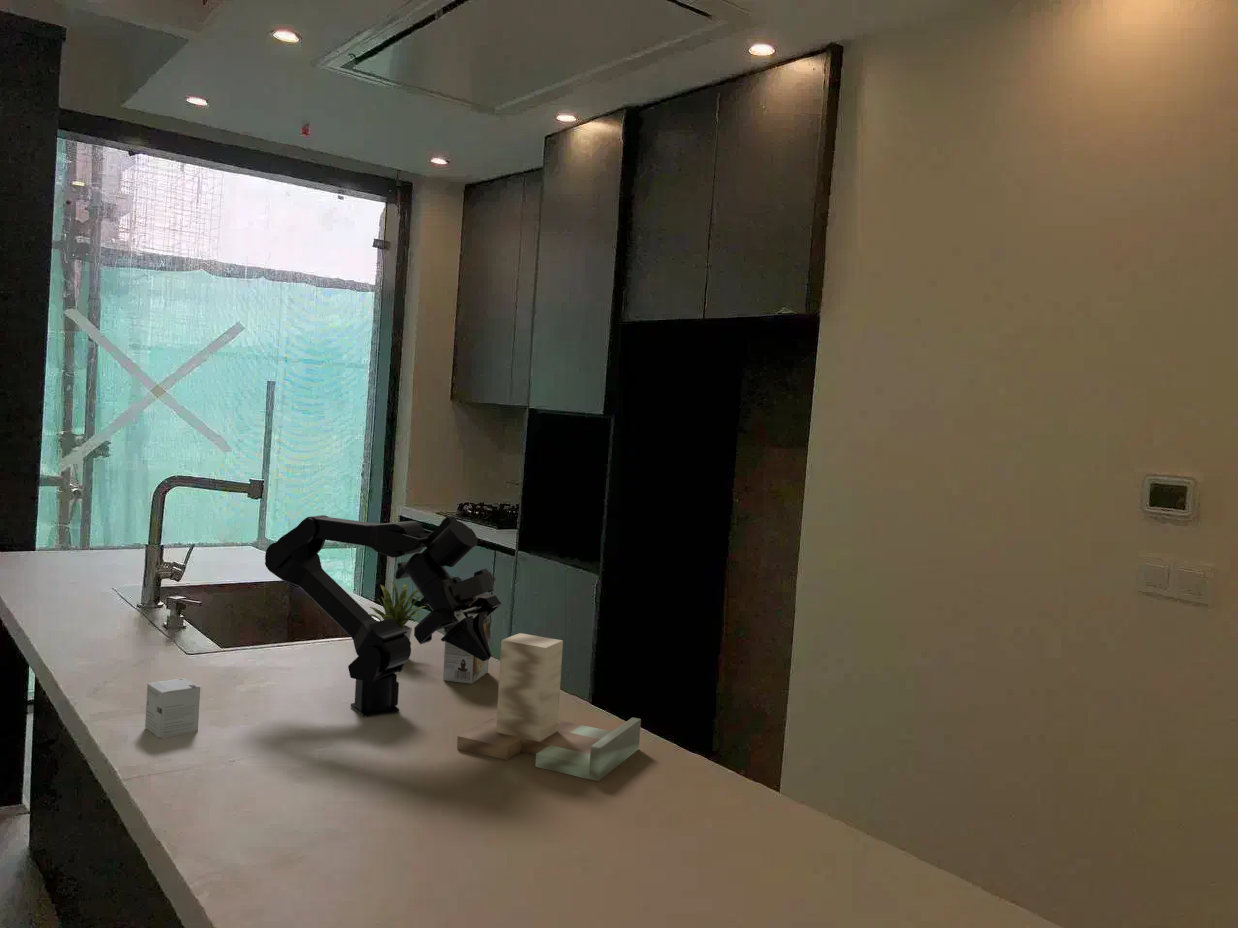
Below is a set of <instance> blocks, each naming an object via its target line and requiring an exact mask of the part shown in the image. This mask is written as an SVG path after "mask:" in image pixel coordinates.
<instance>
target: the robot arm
mask: <svg viewBox="0 0 1238 928" xmlns="http://www.w3.org/2000/svg"><path fill="white" fill-rule="evenodd" d="M326 541H329V542H335V543H336V542H338V543H345V544H352V545H357V546H364V547H365V546H366V547H367V548H371V549H372V550H373V551H375V552H376V553H378V554H381V555H384V556H387V557H389V558H392V559H393V558H399V557H400V558H401V557H406V556H411V557H409V558H408V559H407V561H402V562H398V563H397V564H396V565H397V567H396V568H397V569H396V572H395V579H396V580H402V579H407V578H409V579H410V581H411V583H413V585H414V586H415V588H416V590H417V589H418V591H419V592H418V593H419V594H420V593H421V594H420V596H421V595H422V597H421V598H420V599H419V603H420V604H421V607H423V606H429V608H430V610H431V611H430V612H429V613H428V614H427V615H426V616H425V617H424V618H423V619H422V620H421V621H420V622H419V623H417V624H416V625H415V627H414V629H413V636H414V638H415V639H416V641H417V642H418V643H419V645H423V644H426V643H430V641H432V638H433V634H435V632H436V631H438V630H441V629H444V630H443V632H444V634H446V635H444V636H442V637H441V639H440V641H441V642H443V643H445V641H446V642H448V643H450V644H452V645H454V646H456V647H458V648H460V649H462V650H464V651H466V652H467V653H469V654H471V655H473V656H475V657H476V658H478V659H480V660H482V661H486V660H489V661H490V659H491V658H492V654H491V650H490V645H489V646H488V642H487V639H486V636H485V632H484V627H483V623H484V620H485V619H487V618H488V617H489V616H490V615H491V616H492V614H493V613H494V612H495V611H497V610H498V609H499V608H500V607H501V606H502V602H501V601H500V600H499V598H498V596H496V595H494V594H489V595H486V596H482V597H479V598H478V599H477V598H476V597H475V596H477V595H480V594H487V593H491V592H493V591H494V590H495V589H494V585H495V581H496V577H495V576H493V574H492V572H490V571H489V570H488V569H487V568H483V569H480V570H476V571H474V572H473V576H471V577H469V578H466V579H463V580H462V578H460V577H459V576H454V577H452V576H451V574H450V573H449V571H448V570H447V569H446V567H448V568H453V567H455V566H456V565H458V563H460V561H462V560H463V559H464V558H465V557H466V556H467V555H468V554H469V553H470V552H471V551H472V550H473V549H474V548H475V547H476V546H477V545H478V537H477V535H476V534H475V532H474V530H473V529H472V528H471V527H469V526H467V525H466V524H465V523H464V522H462V521H460V520H458V519H457V518H456V516H454V515H450V516H446V517H445V518H443V519H442V521H441V523H440V524H438V526H437V527H436V528H435V529H434V530H433V531H432V530H429V529H425V528H424V527H423V525H422V524H421V523H420V522H419V521H416V520H408V521H395V522H387V523H384V522H383V523H377V522H376V523H375V522H368V521H361V520H352V519H345V518H339V517H331V516H328V515H325V514H323V515H313V516H307V517H305V518H304V519H303V520H301V521H300V522H299V524H298V525H297V526H295V527H294V528H293V529H291V530H289V531H288V532H286V533H285V534H284V535H282V536H281V537H280V538H279V539H278V540H276V542H272V543H270V544H269V545H268V547H267V548H266V550H265V557H264V561H265V562H264V565H265V567H266V568H267V570H268V571H269V572H270V573H271V574H273V575H274V576H276V577H277V578H278V579H280V580H282V581H283V582H286V583H289V584H292V585H294V586H297V587H299V588H301V589H302V591H304V592H305V593H306V595H308V596H309V597H310V598H311V599H312V600H313V601H314V602H315V603H316V604H317V605H318V606H319V607H320V608H321V609H322V611H324V612H325V613H326V614H327V615H328V616H329V617H330V618H331V619H332V620H333V621H334V622H335V623H336V624H337V625H338V626H339V627H340V628H341V629H342V630H344V632H346V634H348V636H349V637H351V639H352V641H353V645H354V650H355V653H356V655H357V657H356V658H355V659H354V660H352V662H350V664H349V665H348V666H347V669H348V672H349V677H350V678H351V679H354V680H355V689H354V690H355V691H354V702H353V703H350V708H352V709H353V710H354V711H356V712H357V713H359V715H360V716H363V717H370V716H371V717H373V716H379V715H386V714H393V713H398V712H400V708H399V707H398V704H399V691H400V687H399V686H400V682H398V679H397V678H398V675H397V673H400V672H403V669H404V666H405V664H406V663H407V662H408V660H409V659H410V657H411V655H412V648H411V645H412V642H411V641H410V640H411V639H410V640H409V638H408V637H407V636H406V635H405V634H406V633H407V631H404V630H402V629H401V628H400V627H399V626H398V625H397V624H396V622H395V621H394V620H392V619H391V618H389V619H385V620H384V619H381V620H382V621H380V620H378V619H376V618H375V617H373V616H370V615H369V614H370V613H368V611H367V610H365V609H364V607H362V605H360V604H359V603H358V602H357V601H356V600H355V599H354V598H353V597H352V596H351V595H350V594H349V593H348V592H347V591H346V590H345V589H343V587H342V586H341V585H339V584H338V583H337V582H336V580H334V579H333V578H332V577H331V576H330V575H329V574H328V573H327V572H326V571H325V570H324V569H323V567H322V563H321V562H322V561H321V558H320V555H319V553H320V551H322V550H323V548H324V545H325V543H326ZM424 548H425V549H424ZM423 549H424V550H423ZM421 551H422V552H421ZM476 599H477V600H476ZM475 600H476V601H475ZM474 601H475V602H474ZM473 602H474V603H473ZM471 603H473V604H471ZM470 604H471V605H470ZM469 605H470V606H469Z"/></svg>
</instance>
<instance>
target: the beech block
mask: <svg viewBox="0 0 1238 928" xmlns="http://www.w3.org/2000/svg"><path fill="white" fill-rule="evenodd" d="M563 645H564V640H561V639H557V638H550V637H544V636H540V635H533V634H528V633H522V632H519V633H516V634H513V635H511V636H508V637H505V638H503V639H501V643H500V660H499V671H498V672H499V675H498V676H499V677H498V691H497V707H496V710H497V712H496V716H497V723H496V732H498V733H503V734H507V735H512V736H516V737H521V738H525V739H530V740H534V741H539V742H540V741H542V740H544V739H545V738H547V737H549V736H550V735H552V734H553V733H555V732H557V728H558V720H559V713H560V695H561V694H560V693H561V675H562V665H563V664H562V662H563V661H562V660H563V648H564V646H563Z"/></svg>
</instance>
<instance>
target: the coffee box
mask: <svg viewBox="0 0 1238 928" xmlns="http://www.w3.org/2000/svg"><path fill="white" fill-rule="evenodd" d="M486 595H490V594H487V593H483V594H480V595H477V596H475V597H476V598H477V599H478V598H479V597H482V596H486ZM477 599H476V600H477ZM476 600H475V601H476ZM475 601H474V602H475ZM474 602H473V603H474ZM473 603H471V604H473ZM471 604H470V605H471ZM470 605H469V606H470ZM491 620H492V614H491V615H490V616H489V617H488V618H487V619H485V620H484V623H483V627H484V632H485V636H486V639H487V642H488V646H489V647H490V642H491V641H490V640H491V623H492V621H491ZM444 634H445V633H444ZM445 635H446V634H445ZM445 635H444V636H445ZM443 654H444V655H443V657H444V658H443V674H442V675H443V676H442V678H443V679H442V680H443V681H447V682H455V683H463V684H470V685H472V684H474V683H475V682H477V681H478V680H480V679H481V678H482V677H483V676H485V675H486V674H488V672H489V661H490V659H489V660H486V661H482V660H480V659H478V658H476V657H475V656H473V655H471V654H469V653H467V652H466V651H464V650H462V649H460V648H458V647H456V646H454V645H452V644H450V643H448V642H446V641H444V653H443Z"/></svg>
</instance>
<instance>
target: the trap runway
mask: <svg viewBox="0 0 1238 928" xmlns="http://www.w3.org/2000/svg"><path fill="white" fill-rule="evenodd" d="M496 723H497V715H495V716H493V717H492V718H490V719H488V720H486V721H484V722H482V723H479V724H478V725H476V726H475V727H473V728H471V729H469V730H467V731H464V732H462V733H460V734H459V735H458V736H457V744H456V749H457V750H460V751H465V752H471V753H474V754H475V753H476V754H479V755H483V756H488V757H492V758H497V759H500V760H501V759H502V760H504V761H508V760H509V759H511V758H513V757H515V756H516V755H518V754H520V752H523V753H526V754H532V755H535V764H534V765H535V766H534V767H536V768H539V769H544V770H547V771H548V770H549V771H552V772H557V773H559V774H560V773H561V774H564V775H569V776H574V777H577V778H582V779H587V780H591V781H595V782H600V780H602V779H603V778H604V777H606V776H607V775H608V774H609V773H611V772H612V771H613V770H614V769H616V768H617V767H618V766H619V765H621V764H622V763H623V762H625V761H626V760H627V759H628V758H630V757H631V756H632V755H633V754H635V753H636V752H637V751H639V750H640V740H641V724H642V719H641V718H637V717H631V718H629V719H628V720H627V721H625V722H624V723H622V724H620V726H618V727H616V728H615V729H614V730H612V731H611V730H607V729H603V728H602V729H601V728H598V727H597V728H596V727H592V726H587V725H583V724H579V723H573V722H570V721H569V722H568V721H564V720H559V719H558V728H557V732H555V733H553V734H552V735H550V736H549V737H547V738H545V739H544V740H542V741H540V742H539V741H534V740H530V739H525V738H521V737H516V736H512V735H507V734H503V733H498V732H496Z"/></svg>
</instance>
